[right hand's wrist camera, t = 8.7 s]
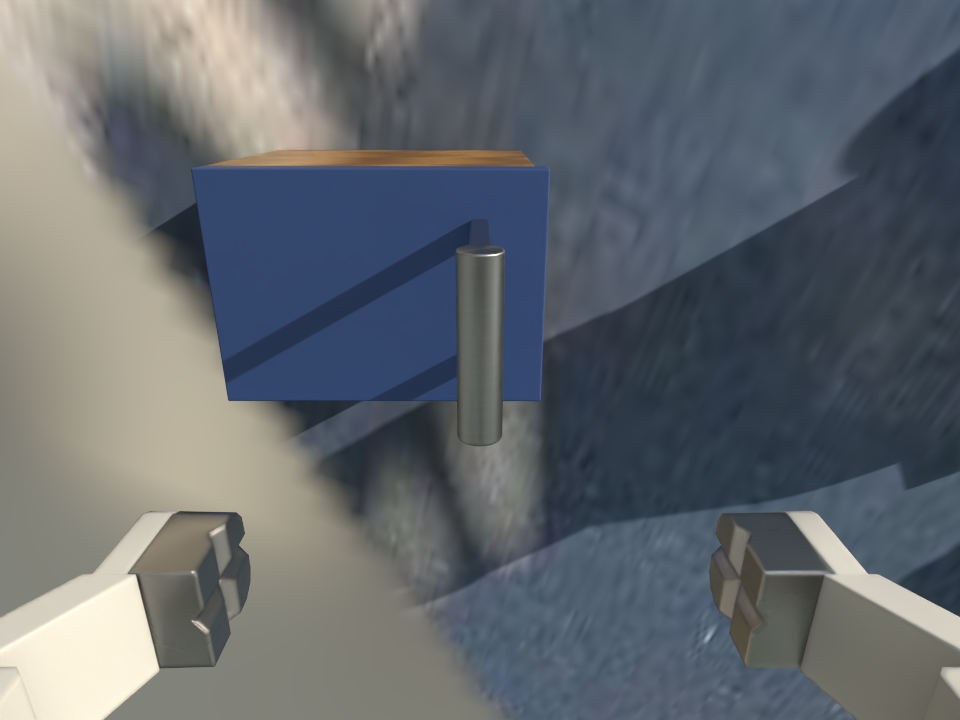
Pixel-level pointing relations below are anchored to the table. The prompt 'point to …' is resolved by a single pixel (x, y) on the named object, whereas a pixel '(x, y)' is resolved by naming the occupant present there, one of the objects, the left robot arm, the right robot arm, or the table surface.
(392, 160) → the chest
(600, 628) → the table surface
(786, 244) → the table surface
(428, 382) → the lid
